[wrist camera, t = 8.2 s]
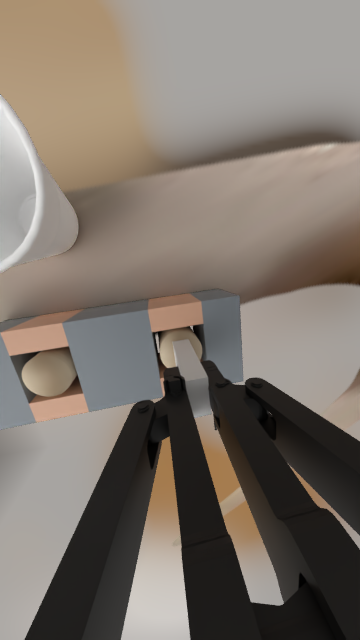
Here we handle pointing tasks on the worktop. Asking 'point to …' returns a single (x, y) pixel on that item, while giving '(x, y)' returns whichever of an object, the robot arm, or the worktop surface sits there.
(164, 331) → the peg
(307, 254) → the worktop surface
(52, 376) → the peg
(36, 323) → the block
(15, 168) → the cup
